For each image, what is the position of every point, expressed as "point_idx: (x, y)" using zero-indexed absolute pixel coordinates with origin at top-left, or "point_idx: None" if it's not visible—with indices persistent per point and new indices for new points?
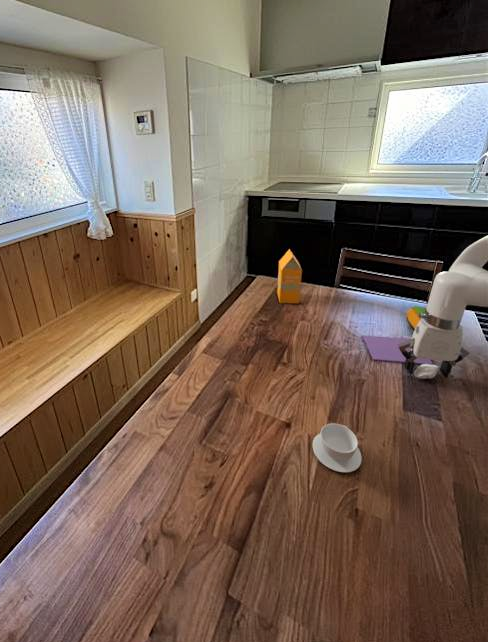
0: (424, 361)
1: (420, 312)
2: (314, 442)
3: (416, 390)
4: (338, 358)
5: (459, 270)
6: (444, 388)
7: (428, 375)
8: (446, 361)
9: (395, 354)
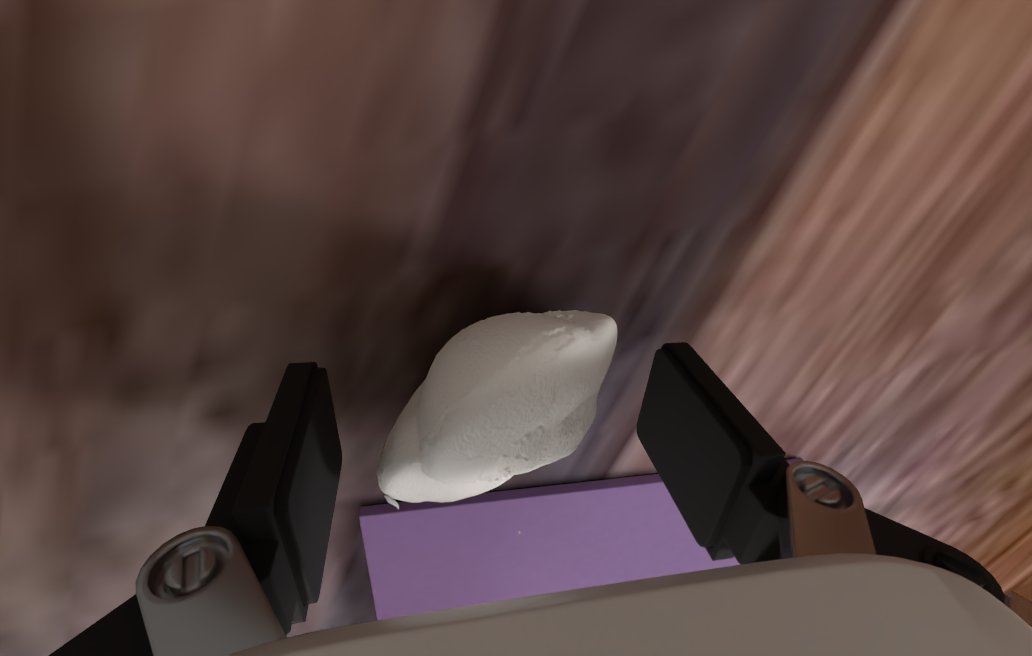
0: (424, 528)
1: None
2: None
3: (688, 128)
4: (1014, 421)
5: None
6: (355, 212)
7: (556, 321)
8: (285, 587)
9: (615, 542)
